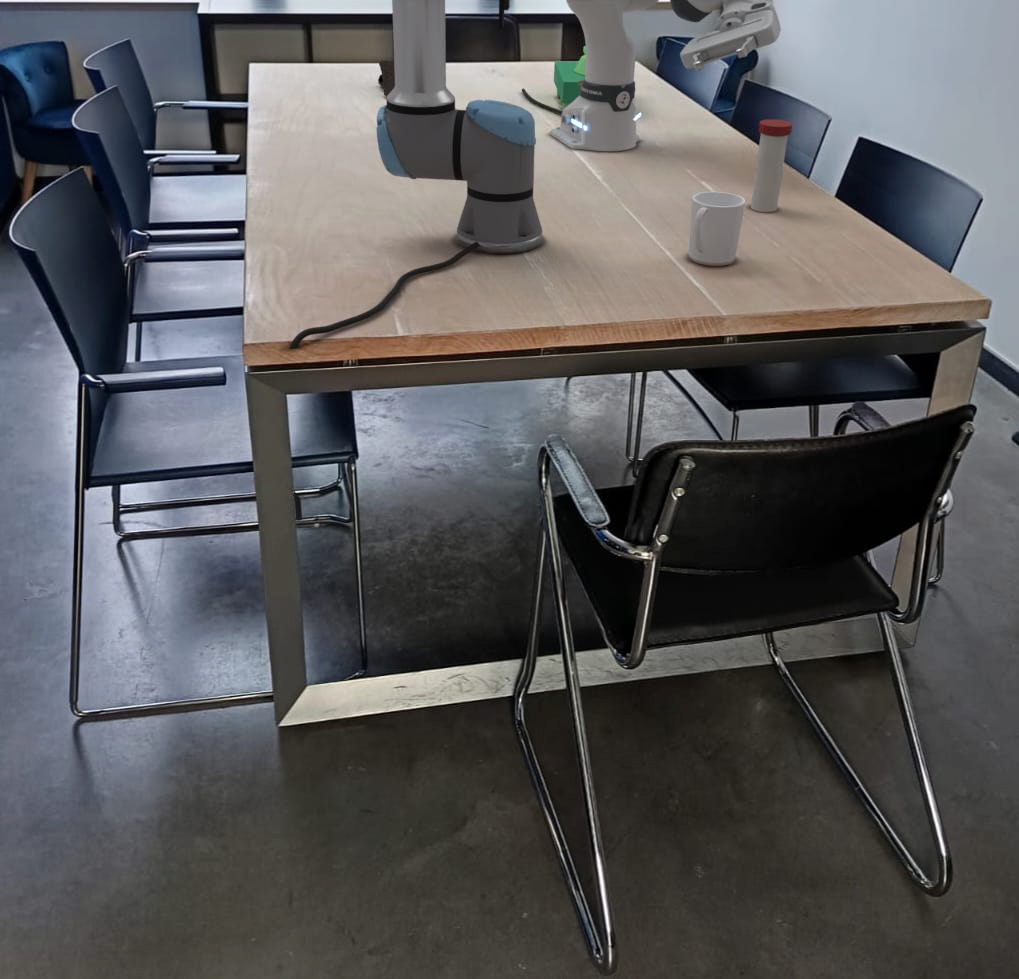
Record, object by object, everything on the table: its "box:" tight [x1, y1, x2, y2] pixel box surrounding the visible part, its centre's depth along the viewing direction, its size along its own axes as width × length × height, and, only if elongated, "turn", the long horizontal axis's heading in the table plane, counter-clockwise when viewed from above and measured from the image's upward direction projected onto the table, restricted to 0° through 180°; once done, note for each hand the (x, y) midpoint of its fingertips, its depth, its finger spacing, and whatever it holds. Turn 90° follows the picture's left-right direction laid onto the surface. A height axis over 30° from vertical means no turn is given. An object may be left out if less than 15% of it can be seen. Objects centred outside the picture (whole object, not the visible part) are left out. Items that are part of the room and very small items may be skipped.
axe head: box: [377, 59, 395, 97], centre depth 299 cm, size 18×8×15 cm
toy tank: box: [553, 45, 586, 111], centre depth 289 cm, size 18×12×35 cm
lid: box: [757, 118, 793, 136], centre depth 207 cm, size 6×6×2 cm
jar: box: [750, 133, 789, 213], centre depth 211 cm, size 5×5×16 cm
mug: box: [687, 191, 747, 267], centre depth 186 cm, size 11×9×10 cm
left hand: (468, 26), depth 224 cm, fingers open, 13 cm apart
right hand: (719, 60), depth 218 cm, fingers open, 8 cm apart
